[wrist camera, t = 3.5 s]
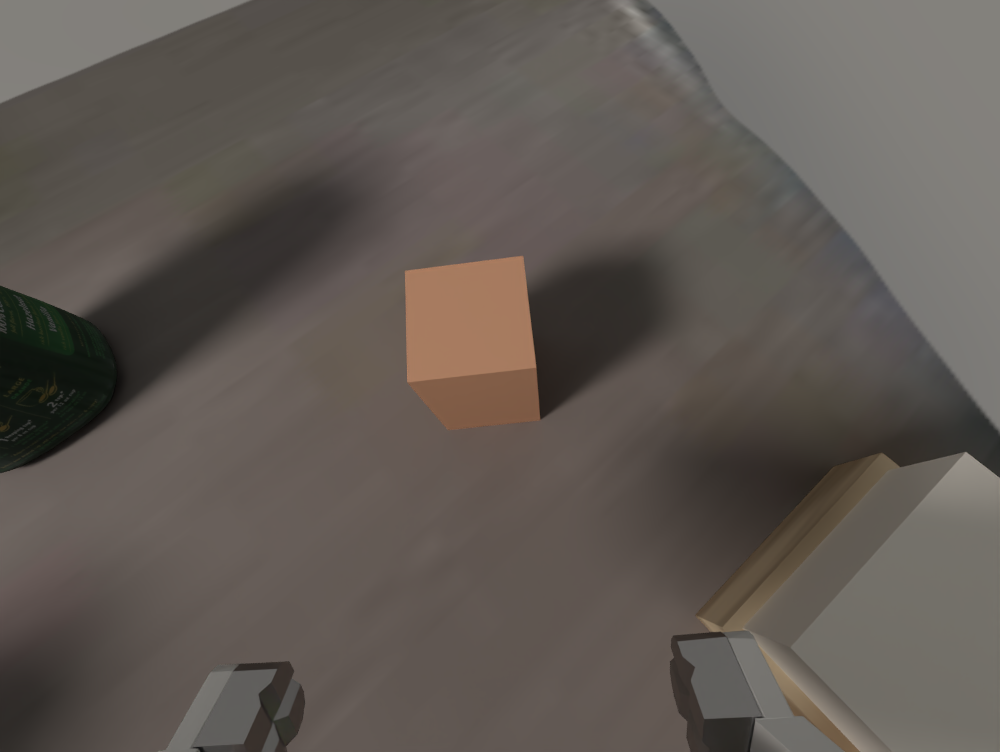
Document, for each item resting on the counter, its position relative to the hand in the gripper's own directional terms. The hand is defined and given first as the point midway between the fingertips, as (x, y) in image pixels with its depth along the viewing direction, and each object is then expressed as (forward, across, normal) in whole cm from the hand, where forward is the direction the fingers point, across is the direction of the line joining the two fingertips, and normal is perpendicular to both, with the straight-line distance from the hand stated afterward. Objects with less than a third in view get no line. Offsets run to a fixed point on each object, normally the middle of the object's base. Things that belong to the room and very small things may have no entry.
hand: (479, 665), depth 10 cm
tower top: (+6, -15, +8) cm, 18 cm away
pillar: (+18, +1, +2) cm, 18 cm away
